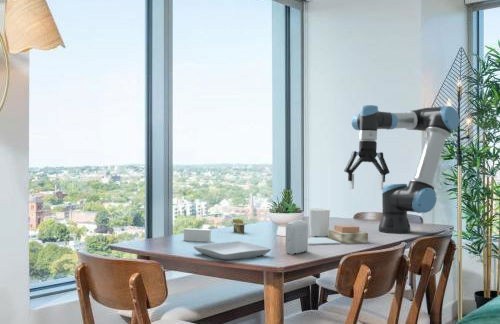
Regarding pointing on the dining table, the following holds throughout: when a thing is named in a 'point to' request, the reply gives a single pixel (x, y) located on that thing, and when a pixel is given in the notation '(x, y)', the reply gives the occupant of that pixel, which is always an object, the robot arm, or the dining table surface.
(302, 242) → the white upright block
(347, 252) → the dining table surface
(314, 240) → the rubber mat
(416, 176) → the robot arm
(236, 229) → the brown and yellow container
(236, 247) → the salad plate
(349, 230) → the terracotta tile
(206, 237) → the napkin holder
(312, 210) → the candle holder
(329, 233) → the birch board
